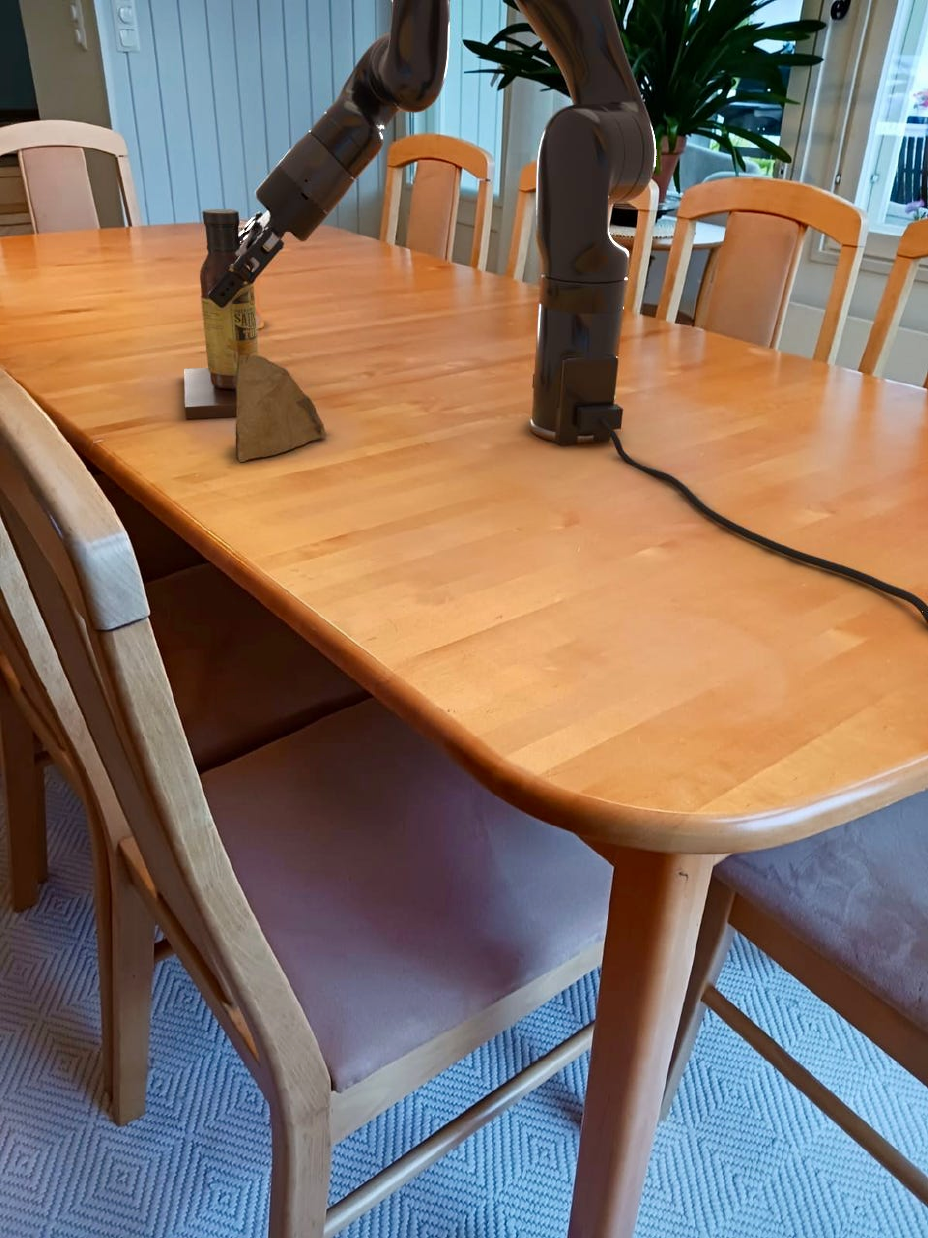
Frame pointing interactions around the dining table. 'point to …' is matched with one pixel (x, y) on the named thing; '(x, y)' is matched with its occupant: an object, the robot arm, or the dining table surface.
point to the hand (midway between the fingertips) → (213, 294)
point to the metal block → (207, 396)
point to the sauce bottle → (237, 320)
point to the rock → (271, 410)
